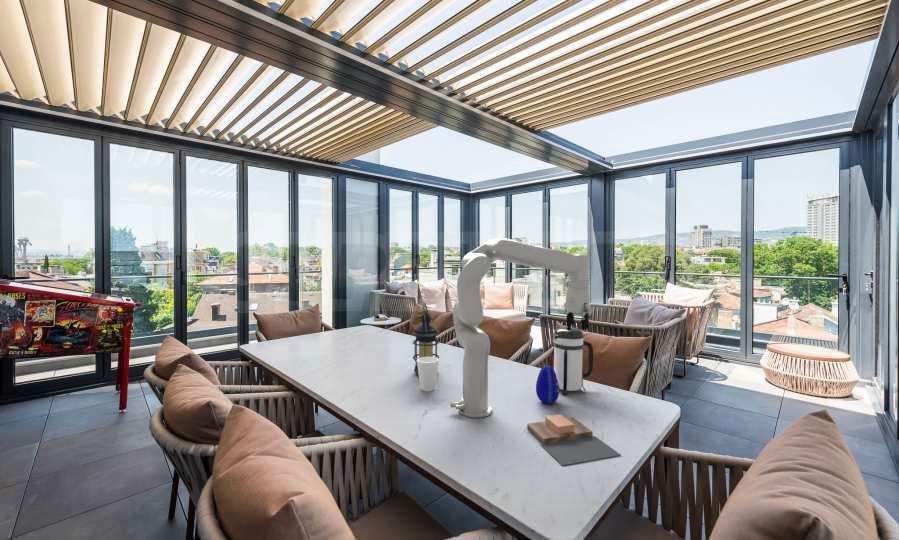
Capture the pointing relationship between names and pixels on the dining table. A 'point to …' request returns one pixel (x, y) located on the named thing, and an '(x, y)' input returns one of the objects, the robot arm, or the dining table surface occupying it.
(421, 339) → the lantern
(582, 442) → the mat
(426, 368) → the foam cup
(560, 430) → the tile
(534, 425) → the deck
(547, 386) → the ornament
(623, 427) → the dining table surface
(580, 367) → the coffee press
